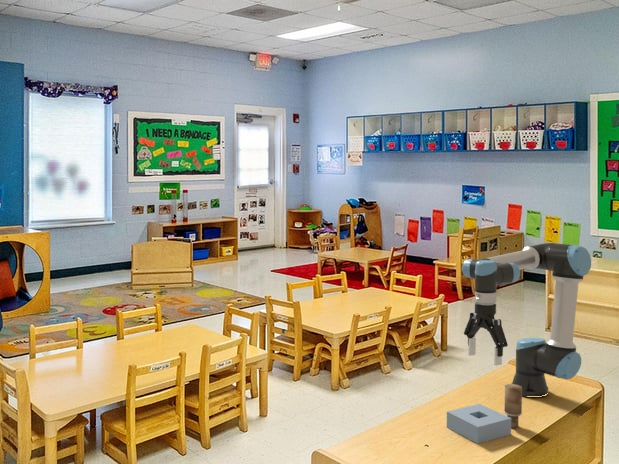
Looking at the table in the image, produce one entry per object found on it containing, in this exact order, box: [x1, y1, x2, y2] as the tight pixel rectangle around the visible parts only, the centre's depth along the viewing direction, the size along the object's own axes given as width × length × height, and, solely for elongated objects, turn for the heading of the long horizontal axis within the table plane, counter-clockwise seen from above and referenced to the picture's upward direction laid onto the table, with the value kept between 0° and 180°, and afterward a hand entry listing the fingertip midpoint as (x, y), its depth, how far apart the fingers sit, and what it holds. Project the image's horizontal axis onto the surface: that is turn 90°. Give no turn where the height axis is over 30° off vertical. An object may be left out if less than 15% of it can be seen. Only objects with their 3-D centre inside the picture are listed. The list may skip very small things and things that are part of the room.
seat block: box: [446, 403, 512, 445], centre depth 225 cm, size 16×16×6 cm
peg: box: [503, 383, 523, 429], centre depth 228 cm, size 6×6×15 cm
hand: (484, 359), depth 228 cm, fingers open, 13 cm apart
